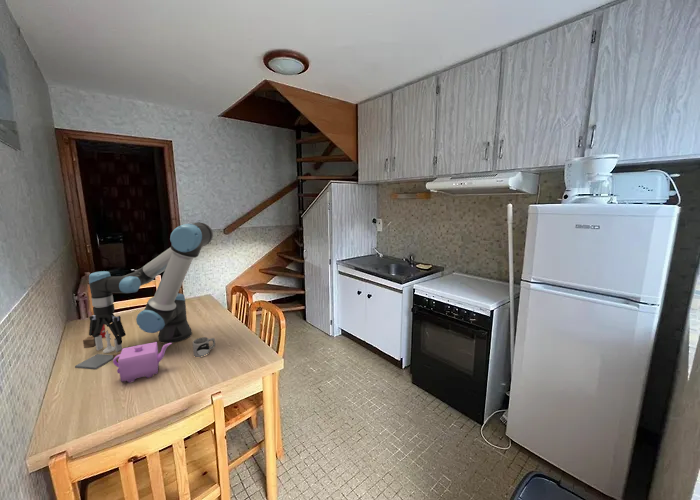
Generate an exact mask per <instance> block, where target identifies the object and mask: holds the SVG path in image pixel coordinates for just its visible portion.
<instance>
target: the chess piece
mask: <svg viewBox="0 0 700 500" xmlns="http://www.w3.org/2000/svg"><path fill="white" fill-rule="evenodd" d="M105 332H106V334H105V337H104V338H105V339H104V340H105V341H106V347H104V349H102V354H103V353H104V354H108V353H112V352H114V351H115V352H116V350H115V345H114V346H113V345H112V343H111V340H112V337H111V333H109V330H105Z"/></svg>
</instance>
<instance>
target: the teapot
mask: <svg viewBox="0 0 700 500" xmlns="http://www.w3.org/2000/svg"><path fill="white" fill-rule="evenodd" d="M172 344H173V343H164V344H163V346H162V347H161V351H160V352H159V348H158V347H159V346H158V342H157V341H154V342H150V343H149V342H148V343H143V344H138V345H134V346H129V347H124V348H123V347H122V350H121V351H122V352H121V354H119V355H117V356H116V357H115V358H114V359H113V360H112V363H113V365H114V366H116V367H117V369H116V372H117V374H119V377H120V378H119V379H120V382H121V383H122V382H123V383H124V382H126V381H127V383H129V384H130V383H133V382H135V381H136V379H138V378H139V379H140V378H143V377H146V379H150V378H149V377H151V378H153V377H154V376H153V375H157V374H158V373H159V365H160V362H161V361H162V360H163V358H164V356H165V355H166V354H165V353H166V350H167V348H168V347H169V346H170V345H172ZM117 358H119V359H118V363H117V362H116V359H117ZM152 376H153V377H152Z"/></svg>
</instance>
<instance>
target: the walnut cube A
mask: <svg viewBox="0 0 700 500" xmlns="http://www.w3.org/2000/svg"><path fill="white" fill-rule="evenodd" d="M82 344H83V349H87V348H96V343H95V342H94V337H93V336H92V335H91V336H87V337H86V338H84V339H83V340H82Z"/></svg>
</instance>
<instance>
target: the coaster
mask: <svg viewBox="0 0 700 500" xmlns="http://www.w3.org/2000/svg"><path fill="white" fill-rule="evenodd" d="M112 361H113V354H106V353H104V354H103V353H97V354H94V355H93V356H90V357H89V358H87V359H86V360H83V361H82V362H80V363H78V364H76V365H74V368H75V369H87V370H98V369H100V368H101V367H103V366H104V365H106V364H108V363H111V362H112Z"/></svg>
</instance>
